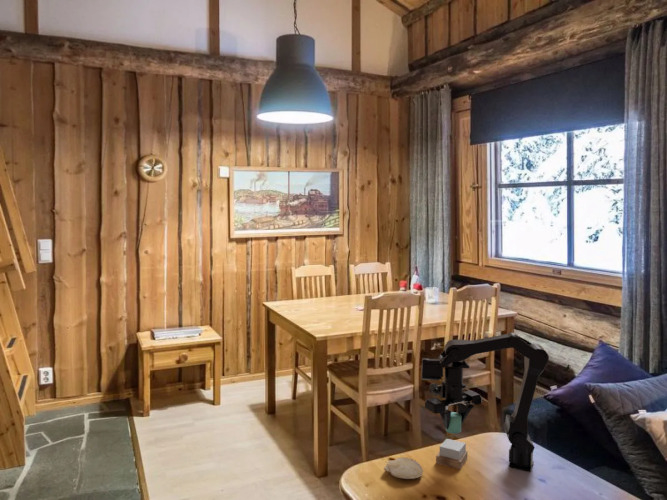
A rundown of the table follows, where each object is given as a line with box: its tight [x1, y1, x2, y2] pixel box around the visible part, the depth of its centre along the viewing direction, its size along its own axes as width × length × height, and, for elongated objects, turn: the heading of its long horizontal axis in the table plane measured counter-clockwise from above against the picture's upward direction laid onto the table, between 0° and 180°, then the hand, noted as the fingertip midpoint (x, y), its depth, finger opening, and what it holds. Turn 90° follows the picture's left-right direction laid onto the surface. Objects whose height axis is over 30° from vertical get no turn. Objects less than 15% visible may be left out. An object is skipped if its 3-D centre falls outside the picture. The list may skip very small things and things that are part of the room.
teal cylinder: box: [444, 411, 462, 435], centre depth 173 cm, size 5×5×5 cm
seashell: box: [383, 456, 424, 480], centre depth 166 cm, size 12×12×3 cm
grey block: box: [439, 438, 467, 460], centre depth 174 cm, size 6×6×3 cm
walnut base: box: [435, 450, 468, 470], centre depth 174 cm, size 8×8×3 cm
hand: (453, 427), depth 173 cm, fingers closed on teal cylinder, 5 cm apart
